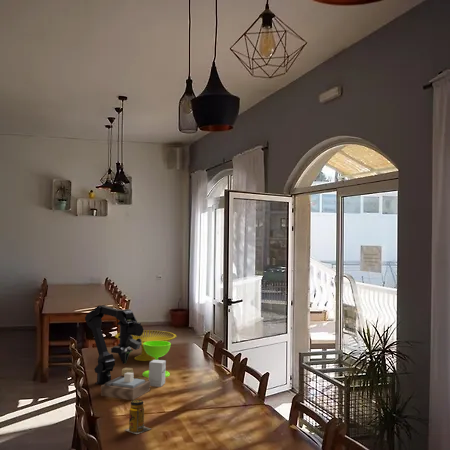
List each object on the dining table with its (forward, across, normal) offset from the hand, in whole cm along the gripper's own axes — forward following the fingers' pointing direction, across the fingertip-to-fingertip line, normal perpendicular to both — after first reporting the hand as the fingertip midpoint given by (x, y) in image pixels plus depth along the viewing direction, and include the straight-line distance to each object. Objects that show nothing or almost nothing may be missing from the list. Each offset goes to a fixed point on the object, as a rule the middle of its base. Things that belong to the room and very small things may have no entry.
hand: (124, 363), depth 291 cm
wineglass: (+13, +33, -2) cm, 36 cm away
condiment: (+14, -51, -36) cm, 64 cm away
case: (+13, -7, -5) cm, 15 cm away
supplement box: (+13, +14, -12) cm, 23 cm away
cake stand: (+13, +67, +23) cm, 72 cm away
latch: (+6, +3, 0) cm, 7 cm away
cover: (+8, -7, -7) cm, 12 cm away
